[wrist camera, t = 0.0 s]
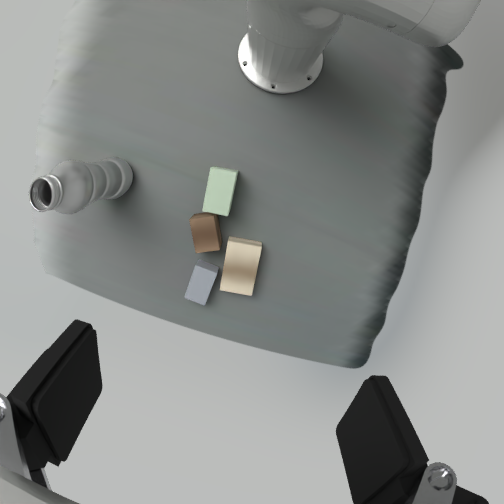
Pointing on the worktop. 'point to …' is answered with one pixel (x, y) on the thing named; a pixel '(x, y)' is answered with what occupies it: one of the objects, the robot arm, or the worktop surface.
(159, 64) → the worktop surface
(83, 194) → the plastic bottle
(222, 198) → the sage brick
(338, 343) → the worktop surface
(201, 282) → the slate brick
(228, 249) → the birch brick
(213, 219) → the walnut brick
